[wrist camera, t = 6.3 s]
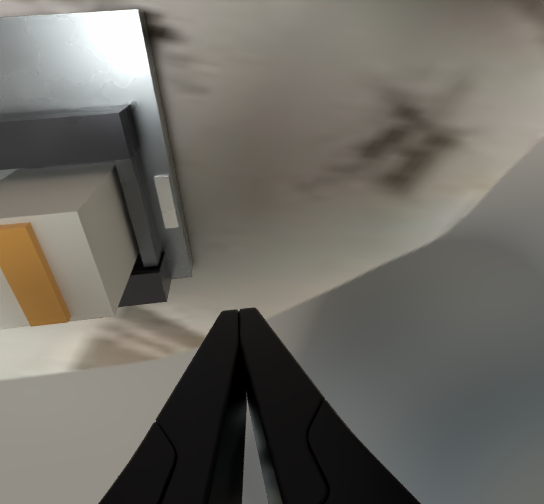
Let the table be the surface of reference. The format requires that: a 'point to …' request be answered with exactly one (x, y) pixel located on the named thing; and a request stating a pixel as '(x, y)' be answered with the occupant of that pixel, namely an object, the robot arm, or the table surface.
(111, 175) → the block
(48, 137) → the grey desk organizer
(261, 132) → the table surface
